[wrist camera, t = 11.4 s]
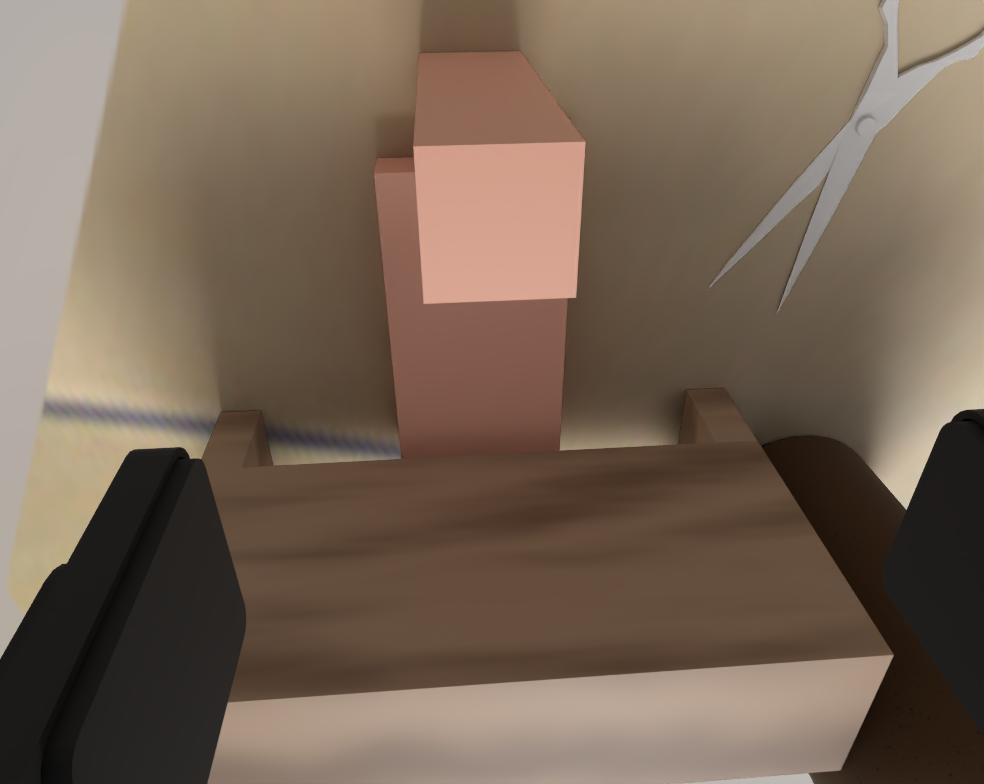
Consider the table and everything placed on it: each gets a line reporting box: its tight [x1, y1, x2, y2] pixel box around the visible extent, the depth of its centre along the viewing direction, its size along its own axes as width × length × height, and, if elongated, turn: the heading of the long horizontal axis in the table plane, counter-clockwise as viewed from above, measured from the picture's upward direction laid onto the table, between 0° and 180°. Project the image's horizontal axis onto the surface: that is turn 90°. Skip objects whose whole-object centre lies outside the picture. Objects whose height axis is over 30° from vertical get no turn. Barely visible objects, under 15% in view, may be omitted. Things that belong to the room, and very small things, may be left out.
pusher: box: [374, 51, 586, 459], centre depth 28 cm, size 19×8×14 cm, turn 1°
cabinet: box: [201, 388, 894, 784], centre depth 33 cm, size 8×26×17 cm, turn 91°
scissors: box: [705, 0, 984, 314], centre depth 31 cm, size 11×1×20 cm
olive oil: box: [762, 436, 984, 784], centre depth 32 cm, size 11×11×25 cm
